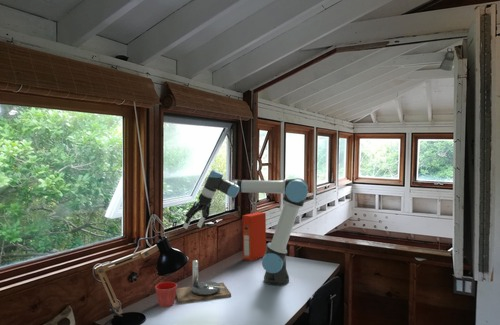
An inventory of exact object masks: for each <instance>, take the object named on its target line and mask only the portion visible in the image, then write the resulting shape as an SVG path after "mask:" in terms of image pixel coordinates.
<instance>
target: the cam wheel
mask: <svg viewBox="0 0 500 325" xmlns="http://www.w3.org/2000/svg"><path fill="white" fill-rule="evenodd" d="M219 283H220V282H217V281H211V280H209V281H208V280H207V281H206V280H205V281H200V282H199V260H197V259H194V260H192V285H191V286H192V287H191V286H190V287H191V292H192V293H193V294H195V295H199V296H209V295H214V294H217V293H218V292H220V288H224V287H222V286H220V284H219Z"/></svg>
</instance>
